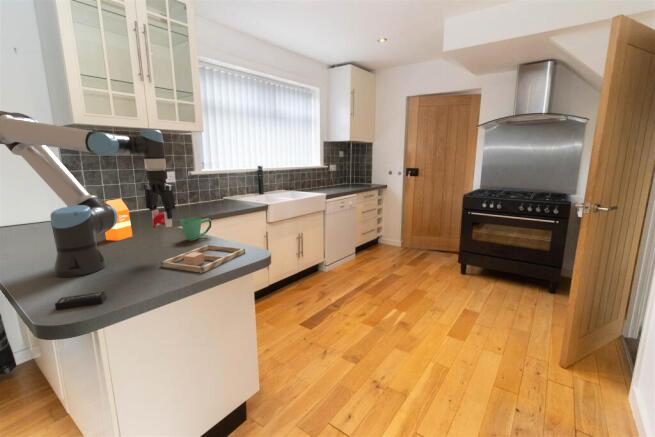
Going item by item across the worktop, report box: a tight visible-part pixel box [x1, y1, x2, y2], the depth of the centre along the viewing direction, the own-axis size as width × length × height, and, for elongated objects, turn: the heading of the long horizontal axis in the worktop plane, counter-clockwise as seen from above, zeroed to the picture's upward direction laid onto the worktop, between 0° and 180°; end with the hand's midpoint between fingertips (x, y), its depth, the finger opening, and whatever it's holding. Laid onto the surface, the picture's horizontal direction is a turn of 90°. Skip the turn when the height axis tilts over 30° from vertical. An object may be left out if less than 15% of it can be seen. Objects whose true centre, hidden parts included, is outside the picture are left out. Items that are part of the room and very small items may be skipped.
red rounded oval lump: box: [152, 211, 165, 229], centre depth 131 cm, size 8×6×6 cm
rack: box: [160, 244, 246, 274], centre depth 127 cm, size 25×20×2 cm
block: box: [183, 252, 205, 266], centre depth 122 cm, size 5×5×4 cm
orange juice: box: [104, 198, 133, 241], centre depth 163 cm, size 8×9×20 cm
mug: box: [180, 217, 212, 241], centre depth 160 cm, size 15×10×10 cm
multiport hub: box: [54, 291, 107, 311], centre depth 90 cm, size 4×11×2 cm, turn 109°
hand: (162, 225), depth 131 cm, fingers closed on red rounded oval lump, 6 cm apart
